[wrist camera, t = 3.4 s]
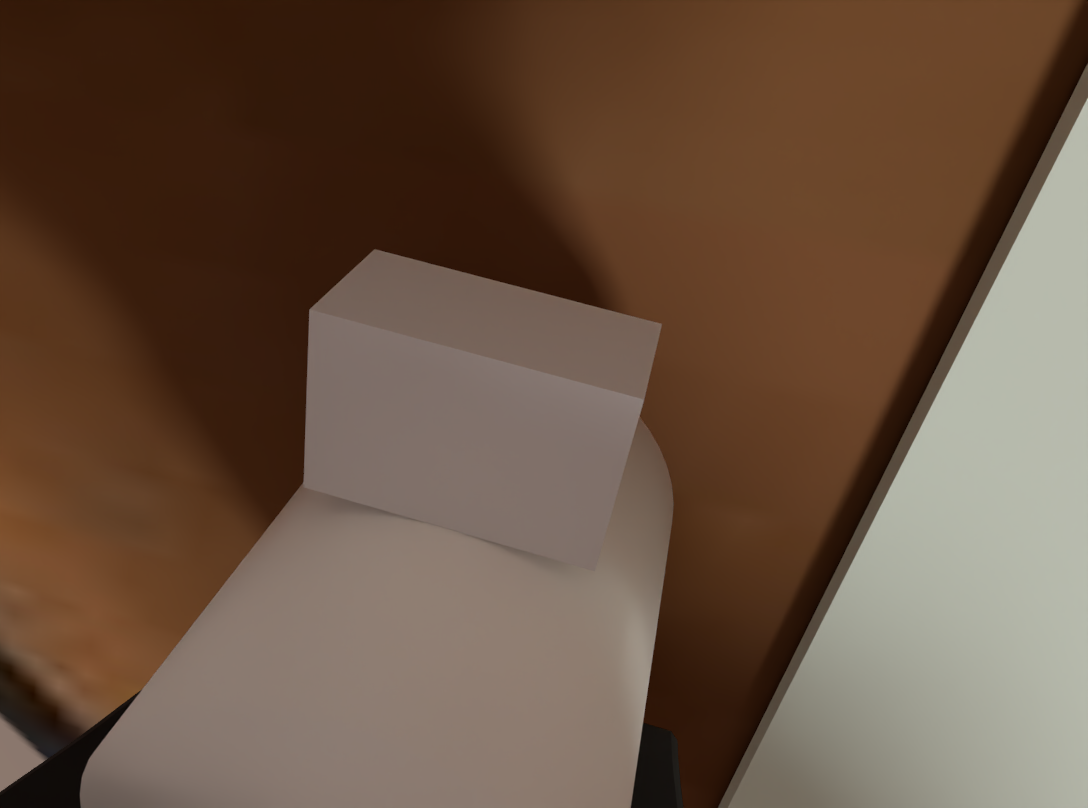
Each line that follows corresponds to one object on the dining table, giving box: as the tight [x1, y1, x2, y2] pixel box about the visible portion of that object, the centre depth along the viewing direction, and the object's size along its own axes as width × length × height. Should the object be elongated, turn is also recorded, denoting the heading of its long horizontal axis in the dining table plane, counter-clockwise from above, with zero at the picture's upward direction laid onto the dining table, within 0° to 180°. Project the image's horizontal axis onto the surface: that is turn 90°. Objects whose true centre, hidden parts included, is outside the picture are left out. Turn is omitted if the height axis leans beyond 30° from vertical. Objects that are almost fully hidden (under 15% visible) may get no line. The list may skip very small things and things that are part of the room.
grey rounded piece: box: [80, 249, 674, 808], centre depth 9 cm, size 11×4×5 cm, turn 170°
